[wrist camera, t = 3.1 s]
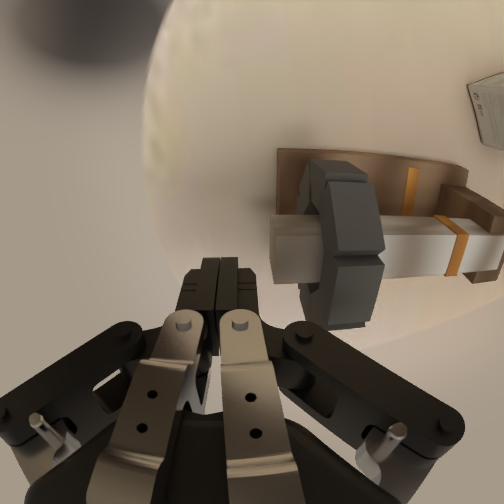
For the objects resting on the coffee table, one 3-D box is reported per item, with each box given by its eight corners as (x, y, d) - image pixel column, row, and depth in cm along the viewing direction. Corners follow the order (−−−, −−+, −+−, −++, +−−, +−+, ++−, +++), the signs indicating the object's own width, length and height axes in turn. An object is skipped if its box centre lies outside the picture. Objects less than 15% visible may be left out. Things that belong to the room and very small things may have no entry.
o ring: (331, 151, 17) (398, 195, 9) (319, 271, 21) (355, 362, 13) (299, 150, 17) (348, 192, 9) (292, 272, 21) (318, 366, 13)
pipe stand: (458, 165, 20) (526, 200, 12) (440, 247, 24) (492, 299, 16) (262, 148, 19) (277, 178, 12) (262, 251, 23) (272, 325, 16)
